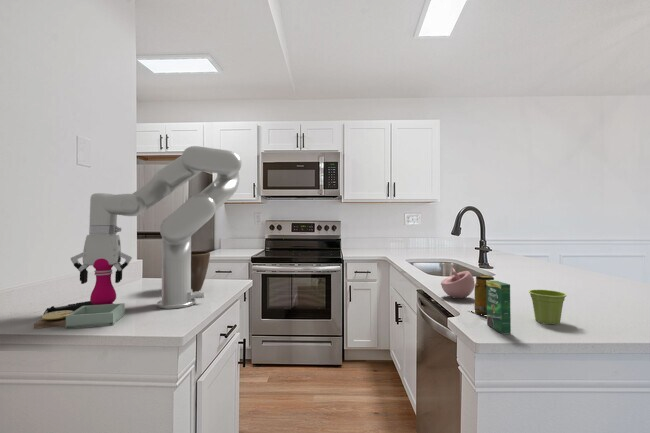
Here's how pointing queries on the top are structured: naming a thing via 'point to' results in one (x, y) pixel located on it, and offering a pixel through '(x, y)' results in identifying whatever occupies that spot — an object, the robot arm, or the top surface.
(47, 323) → the checker plinth
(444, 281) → the mortar and pestle
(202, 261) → the plant pot
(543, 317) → the plant pot
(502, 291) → the coffee box
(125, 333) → the top surface
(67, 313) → the gold disc
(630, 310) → the top surface
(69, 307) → the electric trimmer
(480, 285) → the condiment
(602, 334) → the top surface
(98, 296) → the pepper mill
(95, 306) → the trough tray
